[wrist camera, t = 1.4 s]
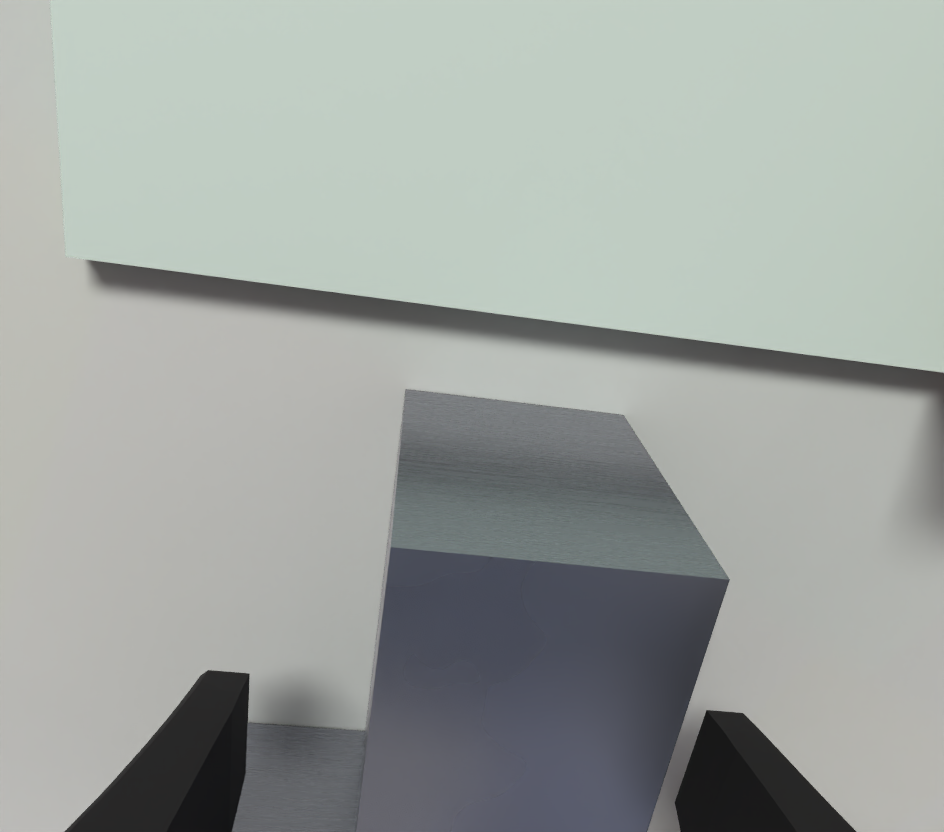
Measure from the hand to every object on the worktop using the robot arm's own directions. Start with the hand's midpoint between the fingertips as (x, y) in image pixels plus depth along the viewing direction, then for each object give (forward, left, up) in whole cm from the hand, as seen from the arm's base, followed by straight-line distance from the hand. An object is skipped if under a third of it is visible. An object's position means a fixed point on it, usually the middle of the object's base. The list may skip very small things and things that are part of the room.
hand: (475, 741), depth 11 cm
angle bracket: (0, +1, -2) cm, 3 cm away
